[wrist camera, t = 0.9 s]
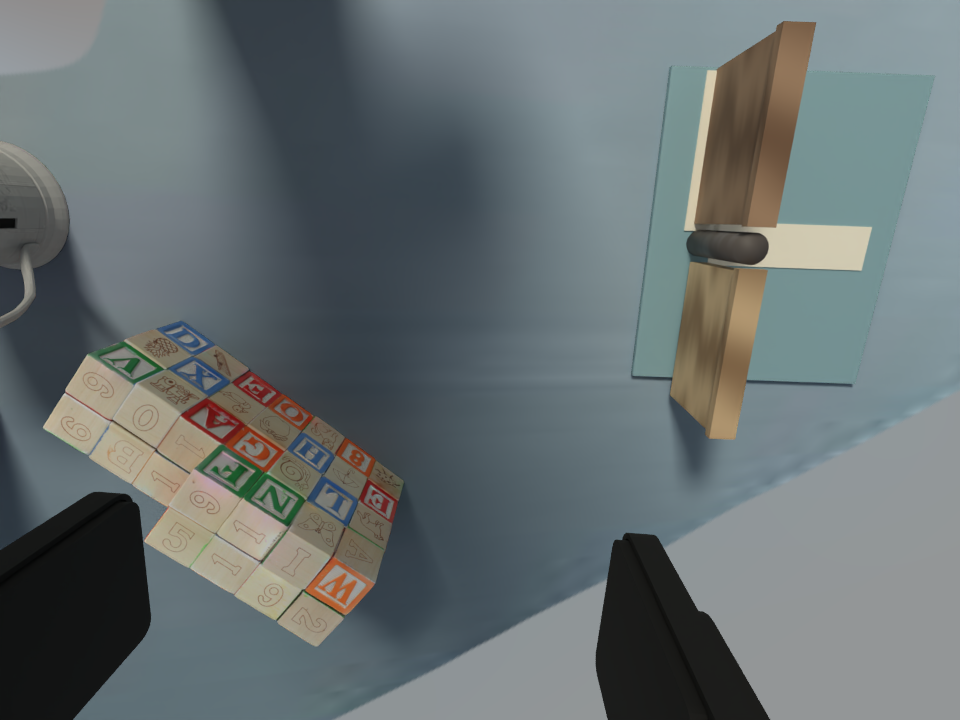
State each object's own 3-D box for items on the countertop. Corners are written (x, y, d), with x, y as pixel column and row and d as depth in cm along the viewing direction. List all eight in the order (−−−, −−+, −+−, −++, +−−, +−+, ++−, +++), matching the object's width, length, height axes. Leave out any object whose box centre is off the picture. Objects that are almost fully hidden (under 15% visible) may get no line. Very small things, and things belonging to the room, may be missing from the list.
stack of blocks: (142, 378, 38) (-10, 449, 27) (182, 318, 37) (41, 364, 25) (363, 530, 42) (316, 652, 30) (407, 480, 41) (376, 588, 29)
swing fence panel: (687, 258, 35) (739, 269, 28) (710, 259, 35) (767, 270, 28) (667, 397, 38) (709, 438, 30) (688, 398, 38) (734, 439, 30)
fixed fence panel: (712, 67, 32) (781, 21, 24) (739, 68, 32) (818, 22, 24) (684, 255, 35) (738, 265, 28) (709, 256, 35) (770, 266, 28)
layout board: (669, 67, 32) (672, 65, 32) (929, 77, 32) (936, 75, 32) (631, 374, 38) (632, 376, 37) (851, 382, 38) (855, 384, 37)
